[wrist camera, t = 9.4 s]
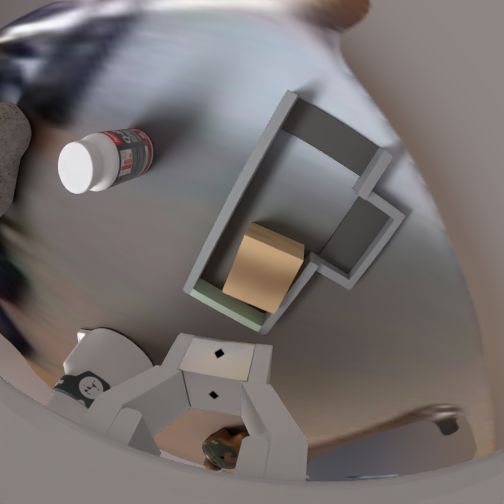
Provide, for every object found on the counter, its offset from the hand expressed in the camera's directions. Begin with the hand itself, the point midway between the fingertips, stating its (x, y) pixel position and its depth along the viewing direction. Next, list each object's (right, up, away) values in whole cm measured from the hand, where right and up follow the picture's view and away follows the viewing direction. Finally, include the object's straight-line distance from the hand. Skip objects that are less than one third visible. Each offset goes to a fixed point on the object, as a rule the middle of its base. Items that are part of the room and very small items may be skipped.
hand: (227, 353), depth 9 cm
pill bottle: (-13, +15, +20) cm, 28 cm away
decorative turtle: (-3, -34, +41) cm, 53 cm away
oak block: (+2, +2, +23) cm, 23 cm away
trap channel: (+6, +5, +21) cm, 22 cm away
